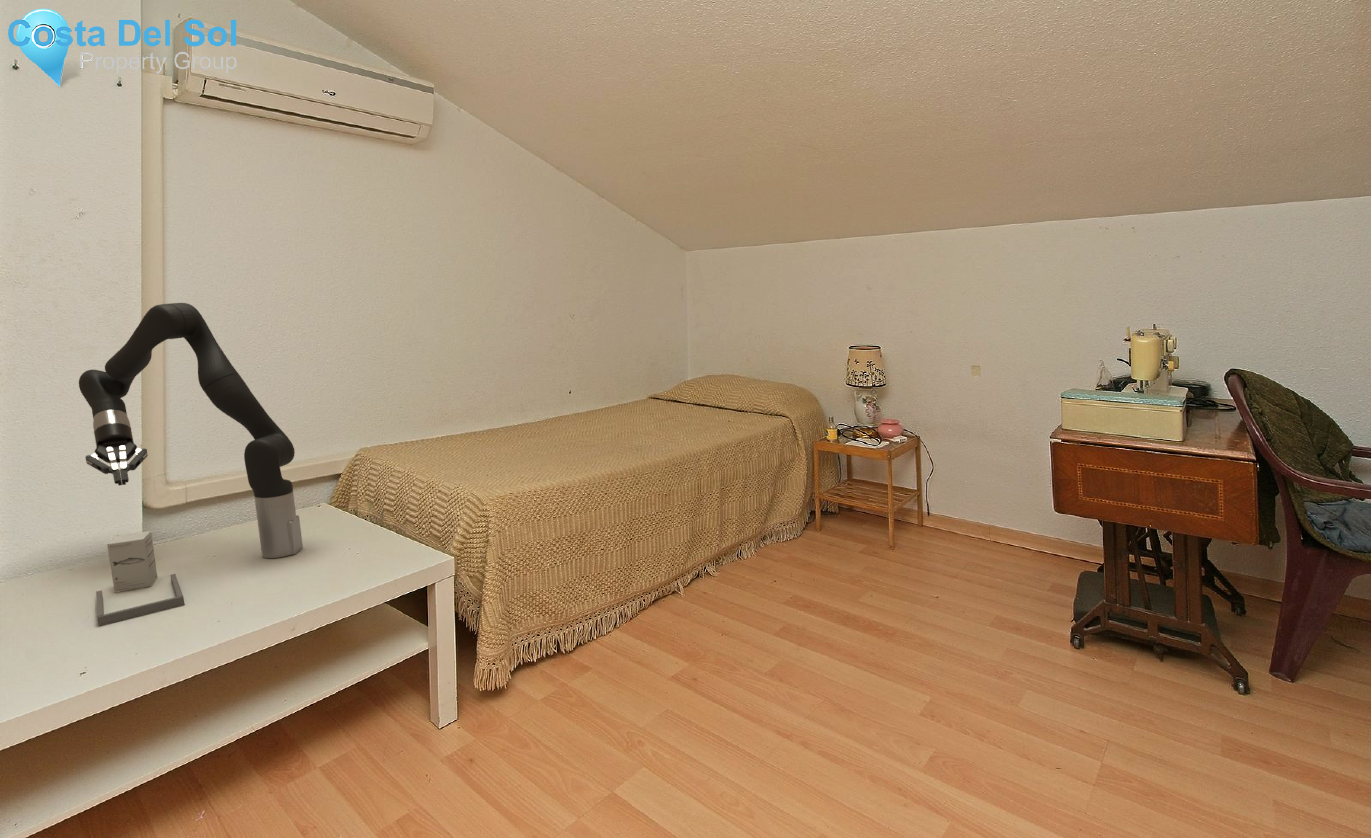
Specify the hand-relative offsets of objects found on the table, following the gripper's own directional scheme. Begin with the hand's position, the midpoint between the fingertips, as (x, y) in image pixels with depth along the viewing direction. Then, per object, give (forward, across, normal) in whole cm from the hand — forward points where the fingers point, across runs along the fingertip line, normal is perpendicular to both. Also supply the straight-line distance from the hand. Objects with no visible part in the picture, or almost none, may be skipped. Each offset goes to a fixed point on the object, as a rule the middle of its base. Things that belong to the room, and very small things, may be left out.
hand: (122, 483), depth 169 cm
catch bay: (+35, 0, -1) cm, 35 cm away
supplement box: (+25, 0, +9) cm, 27 cm away
